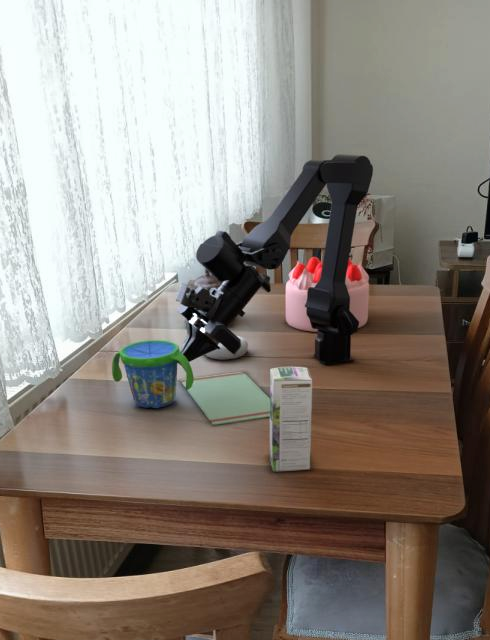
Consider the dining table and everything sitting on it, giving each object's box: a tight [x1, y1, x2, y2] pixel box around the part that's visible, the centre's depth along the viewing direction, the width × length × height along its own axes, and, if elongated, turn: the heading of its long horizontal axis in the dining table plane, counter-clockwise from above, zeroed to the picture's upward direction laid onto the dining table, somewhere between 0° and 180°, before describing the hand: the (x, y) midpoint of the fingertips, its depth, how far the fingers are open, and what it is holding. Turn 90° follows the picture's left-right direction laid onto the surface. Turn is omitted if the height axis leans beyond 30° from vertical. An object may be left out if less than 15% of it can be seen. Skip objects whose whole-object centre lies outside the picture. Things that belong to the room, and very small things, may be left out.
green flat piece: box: [179, 370, 270, 426], centre depth 144 cm, size 13×24×1 cm, turn 18°
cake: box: [285, 256, 370, 333], centre depth 184 cm, size 20×20×14 cm
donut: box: [204, 334, 249, 361], centre depth 166 cm, size 10×3×10 cm
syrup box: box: [269, 366, 313, 473], centre depth 115 cm, size 6×6×14 cm
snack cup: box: [111, 339, 195, 409], centre depth 140 cm, size 16×10×10 cm
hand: (178, 363), depth 141 cm, fingers closed
